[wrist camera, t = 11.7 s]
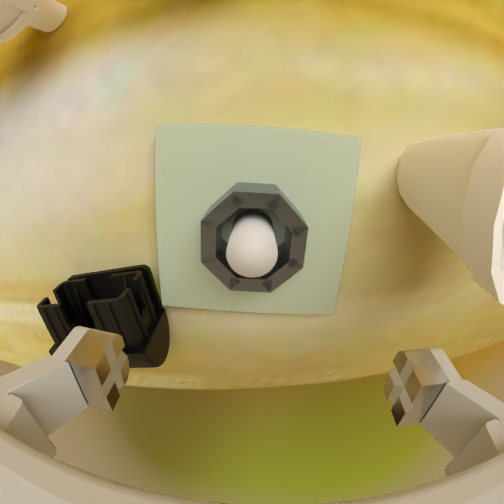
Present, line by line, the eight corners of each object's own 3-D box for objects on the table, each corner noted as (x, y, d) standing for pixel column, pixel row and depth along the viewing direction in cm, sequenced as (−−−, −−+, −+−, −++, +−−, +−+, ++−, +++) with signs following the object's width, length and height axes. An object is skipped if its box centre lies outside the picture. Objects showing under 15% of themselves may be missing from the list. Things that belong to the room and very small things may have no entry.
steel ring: (302, 186, 20) (311, 196, 16) (293, 269, 22) (299, 294, 19) (210, 180, 20) (201, 190, 16) (209, 265, 22) (201, 288, 19)
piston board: (354, 137, 20) (391, 139, 14) (329, 305, 25) (348, 354, 19) (162, 125, 20) (126, 122, 14) (166, 296, 25) (143, 342, 19)
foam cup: (359, 202, 22) (458, 278, 9) (403, 98, 18) (528, 85, 6) (441, 246, 23) (536, 325, 11) (480, 158, 20) (591, 191, 7)
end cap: (92, 336, 27) (63, 378, 21) (65, 276, 24) (26, 312, 18) (177, 331, 26) (159, 383, 20) (154, 262, 24) (123, 305, 17)
